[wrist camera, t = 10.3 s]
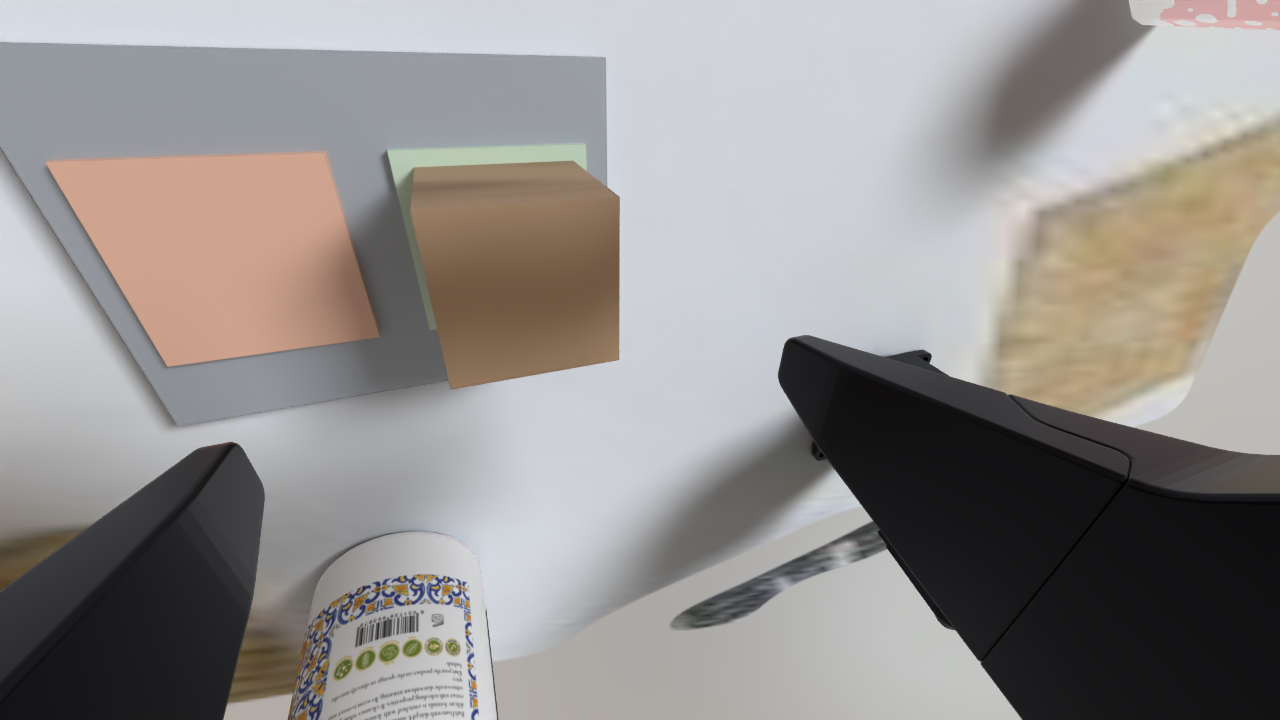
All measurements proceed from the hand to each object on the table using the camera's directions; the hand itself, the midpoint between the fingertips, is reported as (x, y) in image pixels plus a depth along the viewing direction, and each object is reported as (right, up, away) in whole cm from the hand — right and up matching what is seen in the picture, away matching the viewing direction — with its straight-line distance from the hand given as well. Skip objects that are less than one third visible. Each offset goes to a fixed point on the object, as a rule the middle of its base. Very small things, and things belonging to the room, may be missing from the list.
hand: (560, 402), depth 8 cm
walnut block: (-3, +5, +7) cm, 9 cm away
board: (-7, +4, +7) cm, 11 cm away
